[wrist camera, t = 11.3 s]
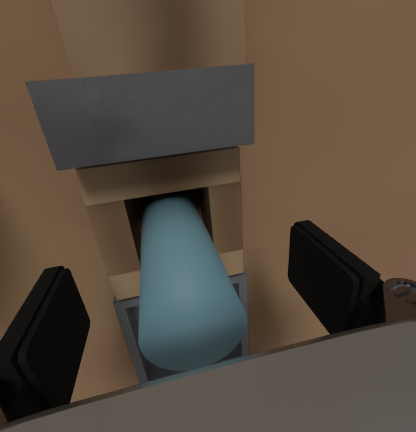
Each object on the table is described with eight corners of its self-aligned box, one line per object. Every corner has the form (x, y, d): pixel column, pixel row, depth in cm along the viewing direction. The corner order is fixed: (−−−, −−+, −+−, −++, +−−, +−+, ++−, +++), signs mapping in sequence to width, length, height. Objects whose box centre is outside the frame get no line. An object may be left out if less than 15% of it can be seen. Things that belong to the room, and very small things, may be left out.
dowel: (147, 236, 17) (149, 381, 8) (137, 188, 16) (126, 304, 7) (196, 227, 18) (247, 355, 9) (191, 180, 16) (245, 278, 7)
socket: (120, 270, 18) (116, 300, 15) (87, 157, 14) (74, 170, 12) (229, 248, 19) (243, 272, 16) (223, 139, 16) (239, 147, 13)
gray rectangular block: (84, 148, 14) (56, 170, 10) (66, 87, 13) (25, 81, 8) (222, 130, 15) (254, 143, 11) (219, 74, 14) (253, 63, 10)
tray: (142, 359, 22) (141, 388, 20) (117, 278, 18) (113, 303, 16) (239, 333, 23) (249, 358, 21) (235, 253, 19) (246, 273, 17)
